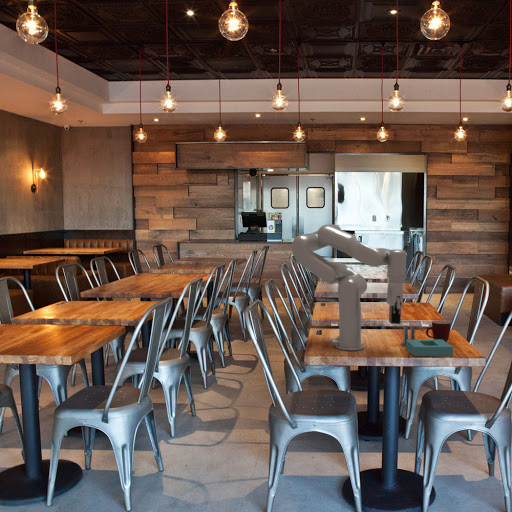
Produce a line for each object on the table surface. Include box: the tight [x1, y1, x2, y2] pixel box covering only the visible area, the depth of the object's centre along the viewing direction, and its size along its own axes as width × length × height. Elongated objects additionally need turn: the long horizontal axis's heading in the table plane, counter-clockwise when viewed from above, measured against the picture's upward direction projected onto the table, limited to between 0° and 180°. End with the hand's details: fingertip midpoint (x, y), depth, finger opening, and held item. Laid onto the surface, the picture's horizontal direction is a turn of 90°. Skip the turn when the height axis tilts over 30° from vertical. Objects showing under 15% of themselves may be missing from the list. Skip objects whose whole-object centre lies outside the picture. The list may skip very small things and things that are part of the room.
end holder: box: [405, 339, 454, 357], centre depth 248 cm, size 16×14×4 cm
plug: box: [388, 305, 402, 325], centre depth 247 cm, size 4×4×9 cm
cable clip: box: [400, 324, 415, 347], centre depth 260 cm, size 6×4×9 cm, turn 90°
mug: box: [425, 320, 452, 343], centre depth 263 cm, size 10×8×10 cm
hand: (394, 320), depth 247 cm, fingers closed on plug, 4 cm apart
